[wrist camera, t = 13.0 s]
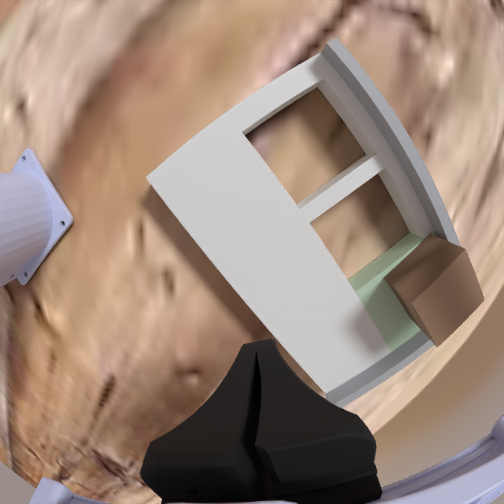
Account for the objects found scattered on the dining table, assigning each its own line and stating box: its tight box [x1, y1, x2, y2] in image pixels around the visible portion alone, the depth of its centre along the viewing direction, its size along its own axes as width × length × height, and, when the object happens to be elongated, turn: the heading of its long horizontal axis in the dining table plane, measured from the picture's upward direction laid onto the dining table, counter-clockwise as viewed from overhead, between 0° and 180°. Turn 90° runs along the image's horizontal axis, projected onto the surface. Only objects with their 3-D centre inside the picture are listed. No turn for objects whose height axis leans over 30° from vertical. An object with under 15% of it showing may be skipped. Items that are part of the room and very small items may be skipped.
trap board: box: [146, 38, 461, 408], centre depth 17 cm, size 14×21×4 cm, turn 37°
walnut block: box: [384, 234, 484, 347], centre depth 16 cm, size 4×4×4 cm
